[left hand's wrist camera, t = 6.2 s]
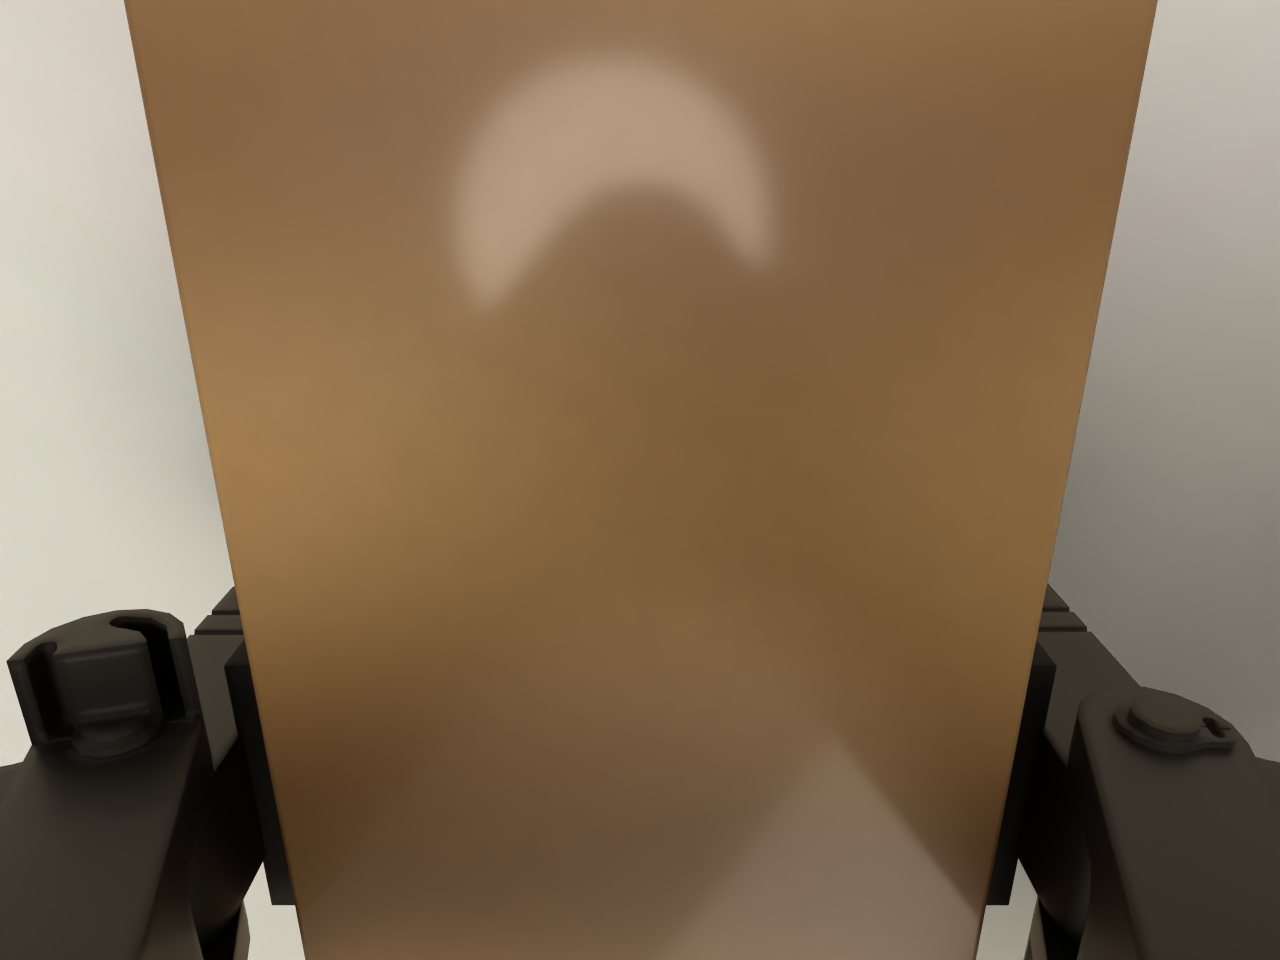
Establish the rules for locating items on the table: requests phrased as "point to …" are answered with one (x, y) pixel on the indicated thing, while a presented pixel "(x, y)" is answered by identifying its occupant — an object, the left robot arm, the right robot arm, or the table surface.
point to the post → (640, 445)
